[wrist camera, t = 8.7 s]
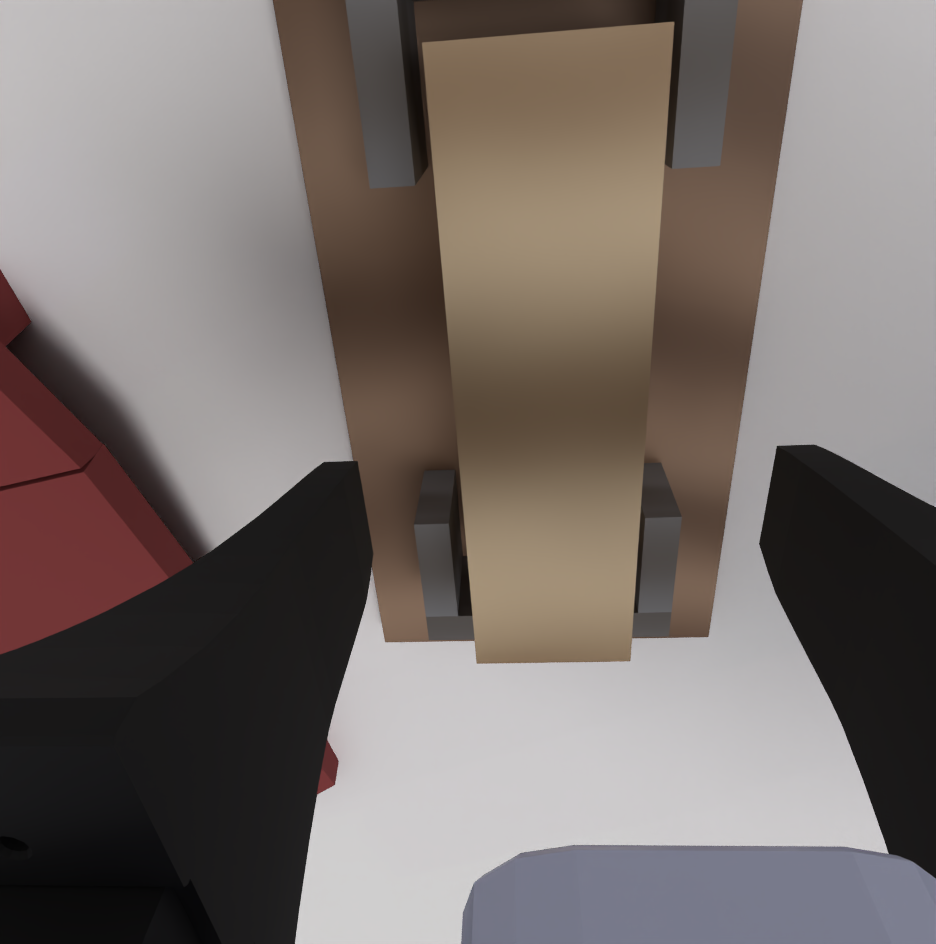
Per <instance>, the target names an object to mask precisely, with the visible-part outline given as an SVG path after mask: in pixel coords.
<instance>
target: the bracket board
mask: <svg viewBox="0 0 936 944" xmlns="http://www.w3.org/2000/svg"><path fill="white" fill-rule="evenodd" d="M802 3H803V0H273V4H274V10H275V15H276V21H277V27H278V32H279V38H280V44H281V50H282V55H283V61H284V67H285V72H286V78H287V84H288V90H289V95H290V101H291V107H292V112H293V118H294V124H295V130H296V135H297V141H298V147H299V152H300V158H301V164H302V170H303V175H304V181H305V187H306V192H307V198H308V204H309V210H310V215H311V221H312V227H313V232H314V238H315V244H316V250H317V255H318V261H319V267H320V272H321V278H322V284H323V290H324V295H325V301H326V307H327V312H328V318H329V324H330V330H331V335H332V341H333V347H334V352H335V358H336V364H337V370H338V375H339V381H340V387H341V392H342V398H343V404H344V410H345V415H346V421H347V427H348V432H349V438H350V444H351V450H352V455H353V461H358V466H359V472H360V478H361V483H362V489H363V495H364V501H365V507H366V512H367V518H368V524H369V530H370V536H371V542H372V547H373V553H374V554H373V561H372V570H373V575H374V581H375V587H376V592H377V598H378V604H379V610H380V615H381V621H382V627H383V632H384V638H385V642H429V641H475V638H474V626H473V615H472V604H471V592H470V581H469V570H468V558H467V547H466V536H465V524H464V513H463V502H462V490H461V479H460V468H459V456H458V445H457V434H456V422H455V411H454V400H453V388H452V377H451V366H450V354H449V343H448V332H447V320H446V309H445V298H444V286H443V275H442V264H441V252H440V241H439V230H438V218H437V207H436V196H435V184H434V173H433V162H432V150H431V139H430V128H429V116H428V105H427V94H426V82H425V71H424V60H423V48H422V43H423V42H435V41H447V40H459V39H471V38H483V37H495V36H507V35H519V34H531V33H544V32H556V31H568V30H580V29H592V28H604V27H616V26H628V25H640V24H652V23H664V22H674V35H673V49H672V64H671V78H670V93H669V107H668V122H667V136H666V151H665V165H664V180H663V194H662V209H661V223H660V238H659V252H658V266H657V281H656V295H655V310H654V324H653V339H652V353H651V368H650V382H649V397H648V411H647V426H646V440H645V455H644V469H643V484H642V498H641V513H640V527H639V542H638V556H637V571H636V585H635V600H634V614H633V629H632V638H679V637H708V636H709V629H710V622H711V616H712V609H713V602H714V595H715V589H716V582H717V575H718V568H719V562H720V555H721V548H722V541H723V535H724V528H725V521H726V515H727V508H728V501H729V494H730V488H731V481H732V474H733V467H734V461H735V454H736V447H737V441H738V434H739V427H740V420H741V414H742V407H743V400H744V393H745V387H746V380H747V373H748V366H749V360H750V353H751V346H752V340H753V333H754V326H755V319H756V313H757V306H758V299H759V292H760V286H761V279H762V272H763V266H764V259H765V252H766V245H767V239H768V232H769V225H770V218H771V212H772V205H773V198H774V191H775V185H776V178H777V171H778V165H779V158H780V151H781V144H782V138H783V131H784V124H785V117H786V111H787V104H788V97H789V90H790V84H791V77H792V70H793V64H794V57H795V50H796V43H797V37H798V30H799V23H800V16H801V10H802Z"/></svg>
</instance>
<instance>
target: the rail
mask: <svg viewBox="0 0 936 944" xmlns="http://www.w3.org/2000/svg"><path fill="white" fill-rule="evenodd" d="M673 35H674V22H664V23H652V24H640V25H628V26H616V27H604V28H592V29H580V30H568V31H556V32H544V33H531V34H519V35H507V36H495V37H483V38H471V39H459V40H447V41H435V42H423V43H422V48H423V60H424V71H425V82H426V94H427V105H428V116H429V128H430V139H431V150H432V162H433V173H434V184H435V196H436V207H437V218H438V230H439V241H440V252H441V264H442V275H443V286H444V298H445V309H446V320H447V332H448V343H449V354H450V366H451V377H452V388H453V400H454V411H455V422H456V434H457V445H458V456H459V468H460V479H461V490H462V502H463V513H464V524H465V536H466V547H467V558H468V570H469V581H470V592H471V604H472V615H473V626H474V638H475V649H476V660H477V664H479V663H545V662H610V661H630V658H631V643H632V629H633V614H634V600H635V585H636V571H637V556H638V542H639V527H640V513H641V498H642V484H643V469H644V455H645V440H646V426H647V411H648V397H649V382H650V368H651V353H652V339H653V324H654V310H655V295H656V281H657V266H658V252H659V238H660V223H661V209H662V194H663V180H664V165H665V151H666V136H667V122H668V107H669V93H670V78H671V64H672V49H673Z"/></svg>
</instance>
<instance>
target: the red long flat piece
mask: <svg viewBox="0 0 936 944" xmlns="http://www.w3.org/2000/svg"><path fill="white" fill-rule="evenodd" d="M30 323H31V320H30V318H29V317H28V315H27V313H26V312H25V310H24V308H23V307H22V305H21V303H20V302H19V300H18V298H17V297H16V295H15V293H14V292H13V290H12V288H11V287H10V285H9V283H8V282H7V280H6V278H5V277H4V275H3V273H2V272H1V270H0V654H3V653H6V652H9V651H12V650H15V649H17V648H20V647H23V646H25V645H28V644H30V643H33V642H36V641H38V640H41V639H43V638H46V637H48V636H50V635H53V634H55V633H58V632H60V631H63V630H65V629H67V628H70V627H72V626H74V625H77V624H79V623H81V622H83V621H86V620H88V619H90V618H92V617H95V616H97V615H99V614H101V613H103V612H105V611H107V610H109V609H111V608H113V607H115V606H117V605H119V604H121V603H123V602H125V601H127V600H129V599H131V598H132V597H134V596H136V595H138V594H140V593H142V592H144V591H146V590H148V589H150V588H152V587H154V586H156V585H158V584H159V583H161V582H163V581H165V580H166V579H168V578H170V577H171V576H173V575H175V574H176V573H178V572H179V571H181V570H183V569H184V568H186V567H188V566H189V565H191V564H193V562H192V560H191V559H190V558H189V556H188V555H187V554H186V552H185V551H184V550H183V548H182V547H181V546H180V544H179V543H178V542H177V540H176V539H175V538H174V536H173V535H172V534H171V532H170V531H169V530H168V529H167V527H166V526H165V525H164V523H163V522H162V521H161V519H160V518H159V517H158V515H157V514H156V513H155V511H154V510H153V509H152V507H151V506H150V505H149V503H148V502H147V501H146V499H145V498H144V497H143V495H142V494H141V493H140V491H139V490H138V489H137V487H136V486H135V485H134V483H133V482H132V481H131V479H130V478H129V477H128V475H127V474H126V473H125V472H124V470H123V469H122V468H121V466H120V465H119V464H118V462H117V461H116V460H115V458H114V457H113V456H112V454H111V453H110V452H109V450H108V449H107V448H106V446H105V445H104V444H102V443H101V442H100V441H99V440H98V439H97V438H96V437H95V436H94V435H93V434H92V433H91V432H90V431H89V430H88V429H87V428H86V427H85V426H84V425H83V424H82V423H81V422H80V421H79V420H78V419H77V418H76V417H75V416H74V415H73V414H72V413H71V412H70V411H69V410H68V409H67V408H66V407H65V406H64V405H63V404H62V403H61V402H60V401H59V400H58V399H57V398H56V397H55V396H54V395H53V394H52V393H51V392H50V391H49V390H48V389H47V388H46V387H45V386H44V385H43V384H42V383H41V382H40V381H39V380H38V379H37V378H36V377H35V376H34V375H33V374H32V373H31V372H30V371H29V370H28V369H27V368H26V367H25V366H24V365H23V364H22V363H21V362H20V361H19V360H18V359H17V358H16V357H15V356H14V355H13V354H12V353H11V352H10V351H9V350H8V349H7V348H6V346H7V345H8V344H9V343H10V342H11V341H12V340H13V339H14V338H15V337H16V336H17V335H18V334H19V333H20V332H21V331H22V330H23V329H25V328H26V327H27V326H28V325H29V324H30ZM338 762H339V761H338V759H337V757H336V755H335V753H334V752H333V750H332V748H331V746H330V744H329V743H328V741H327V742H326V748H325V753H324V758H323V764H322V769H321V774H320V780H319V785H318V791H317V794H319V793H321V792H323V791H324V790H326V789H328V788H330V787H332V786H334V785H335V781H336V774H337V768H338Z"/></svg>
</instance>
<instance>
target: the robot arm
mask: <svg viewBox="0 0 936 944" xmlns="http://www.w3.org/2000/svg"><path fill="white" fill-rule="evenodd" d="M759 545H760V548H761V551H762V554H763V557H764V561H765V564H766V567H767V570H768V573H769V576H770V579H771V581H772V584H773V587H774V590H775V593H776V595H777V597H778V599H779V601H780V603H781V605H782V607H783V609H784V611H785V613H786V615H787V617H788V619H789V621H790V623H791V625H792V627H793V629H794V631H795V633H796V635H797V637H798V638H799V640H800V642H801V644H802V646H803V648H804V650H805V652H806V654H807V656H808V658H809V660H810V662H811V664H812V665H813V667H814V669H815V671H816V673H817V675H818V677H819V679H820V681H821V683H822V685H823V687H824V689H825V691H826V692H827V694H828V696H829V698H830V700H831V702H832V704H833V707H834V709H835V711H836V713H837V715H838V717H839V720H840V722H841V724H842V726H843V729H844V731H845V734H846V736H847V739H848V742H849V744H850V747H851V750H852V752H853V755H854V757H855V760H856V763H857V765H858V768H859V770H860V773H861V776H862V778H863V781H864V784H865V787H866V789H867V792H868V795H869V798H870V801H871V804H872V806H873V809H874V812H875V815H876V818H877V821H878V823H879V826H880V829H881V832H882V835H883V838H884V841H885V843H886V846H887V850H888V853H889V854H885V853H879V852H873V851H867V850H861V849H855V848H849V847H808V846H646V845H571V846H565V847H558V848H551V849H544V850H538V851H531V852H524V853H520V854H518V855H517V856H515V857H513V858H512V859H510V860H508V861H507V862H505V863H503V864H501V865H500V866H498V867H496V868H495V869H493V870H491V871H489V872H488V873H486V874H484V875H483V876H482V877H481V878H479V879H478V880H477V881H476V882H474V884H473V887H472V890H471V893H470V895H469V898H468V901H467V903H466V906H465V909H464V911H463V921H462V941H461V944H936V507H934V506H932V505H930V504H928V503H926V502H924V501H922V500H920V499H918V498H916V497H914V496H913V495H911V494H909V493H907V492H905V491H903V490H901V489H899V488H898V487H896V486H894V485H892V484H890V483H888V482H887V481H885V480H883V479H881V478H879V477H877V476H876V475H874V474H872V473H870V472H868V471H866V470H865V469H863V468H861V467H859V466H857V465H855V464H854V463H852V462H850V461H848V460H846V459H844V458H842V457H840V456H838V455H836V454H834V453H832V452H830V451H828V450H826V449H824V448H821V447H819V446H817V445H791V446H777V449H776V455H775V460H774V466H773V471H772V477H771V482H770V488H769V493H768V499H767V504H766V510H765V515H764V521H763V526H762V532H761V537H760V543H759ZM373 554H374V553H373V547H372V542H371V536H370V530H369V524H368V518H367V512H366V507H365V501H364V495H363V489H362V483H361V478H360V472H359V466H358V461H343V462H324V463H322V464H321V465H319V466H318V467H317V468H315V469H314V470H313V471H312V472H310V473H309V474H308V475H307V476H306V477H304V478H303V479H302V480H301V481H300V482H298V483H297V484H296V485H295V486H294V487H293V488H291V489H290V490H289V491H288V492H287V493H286V494H284V495H283V496H282V497H281V498H280V499H278V500H277V501H276V502H275V503H273V504H272V505H271V506H270V507H269V508H267V509H266V510H265V511H264V512H263V513H261V514H260V515H259V516H258V517H257V518H255V519H254V520H253V521H251V522H250V523H249V524H247V525H246V526H245V527H243V528H242V529H241V530H239V531H238V532H237V533H235V534H234V535H233V536H231V537H230V538H229V539H227V540H226V541H225V542H223V543H222V544H221V545H219V546H218V547H217V548H215V549H214V550H212V551H211V552H209V553H208V554H206V555H205V556H203V557H202V558H200V559H199V560H197V561H196V562H194V563H193V564H191V565H189V566H188V567H186V568H184V569H183V570H181V571H179V572H178V573H176V574H175V575H173V576H171V577H170V578H168V579H166V580H165V581H163V582H161V583H159V584H158V585H156V586H154V587H152V588H150V589H148V590H146V591H144V592H142V593H140V594H138V595H136V596H134V597H132V598H131V599H129V600H127V601H125V602H123V603H121V604H119V605H117V606H115V607H113V608H111V609H109V610H107V611H105V612H103V613H101V614H99V615H97V616H95V617H92V618H90V619H88V620H86V621H83V622H81V623H79V624H77V625H74V626H72V627H70V628H67V629H65V630H63V631H60V632H58V633H55V634H53V635H50V636H48V637H46V638H43V639H41V640H38V641H36V642H33V643H30V644H28V645H25V646H23V647H20V648H17V649H15V650H12V651H9V652H6V653H3V654H0V944H295V938H296V930H297V922H298V914H299V907H300V900H301V893H302V886H303V879H304V873H305V866H306V859H307V852H308V846H309V839H310V833H311V827H312V821H313V815H314V809H315V803H316V797H317V791H318V785H319V780H320V774H321V769H322V764H323V758H324V753H325V748H326V742H327V737H328V732H329V727H330V723H331V719H332V715H333V711H334V708H335V704H336V701H337V697H338V694H339V691H340V688H341V684H342V681H343V678H344V674H345V671H346V668H347V665H348V661H349V658H350V655H351V651H352V648H353V645H354V642H355V638H356V635H357V632H358V628H359V625H360V621H361V618H362V615H363V611H364V608H365V604H366V600H367V594H368V588H369V582H370V576H371V568H372V561H373Z"/></svg>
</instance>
